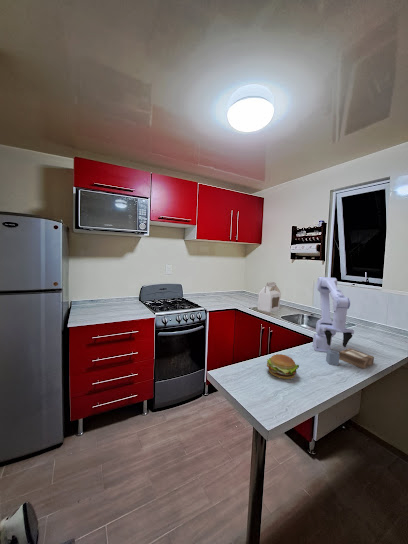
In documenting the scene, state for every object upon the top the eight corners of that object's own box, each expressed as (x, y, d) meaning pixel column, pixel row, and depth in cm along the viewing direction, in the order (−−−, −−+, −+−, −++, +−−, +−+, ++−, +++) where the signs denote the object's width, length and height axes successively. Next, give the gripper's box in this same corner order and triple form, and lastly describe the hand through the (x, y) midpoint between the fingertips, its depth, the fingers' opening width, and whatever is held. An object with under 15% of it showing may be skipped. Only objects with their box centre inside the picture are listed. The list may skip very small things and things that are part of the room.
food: (260, 372, 105) (261, 355, 104) (274, 363, 115) (276, 348, 114) (288, 385, 95) (290, 367, 95) (302, 374, 105) (303, 358, 105)
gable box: (269, 312, 220) (271, 284, 218) (257, 309, 229) (259, 282, 227) (279, 309, 236) (282, 282, 234) (267, 306, 245) (270, 281, 243)
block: (328, 364, 117) (330, 353, 117) (325, 360, 122) (327, 349, 121) (338, 366, 116) (339, 354, 116) (335, 362, 121) (336, 351, 120)
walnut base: (363, 368, 115) (364, 361, 114) (338, 358, 125) (339, 351, 124) (373, 363, 121) (374, 356, 121) (349, 354, 131) (349, 347, 131)
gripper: (327, 320, 115) (324, 346, 116) (358, 324, 113) (355, 350, 114) (322, 317, 122) (319, 341, 123) (351, 320, 120) (348, 344, 121)
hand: (336, 345), depth 119 cm, fingers open, 7 cm apart
